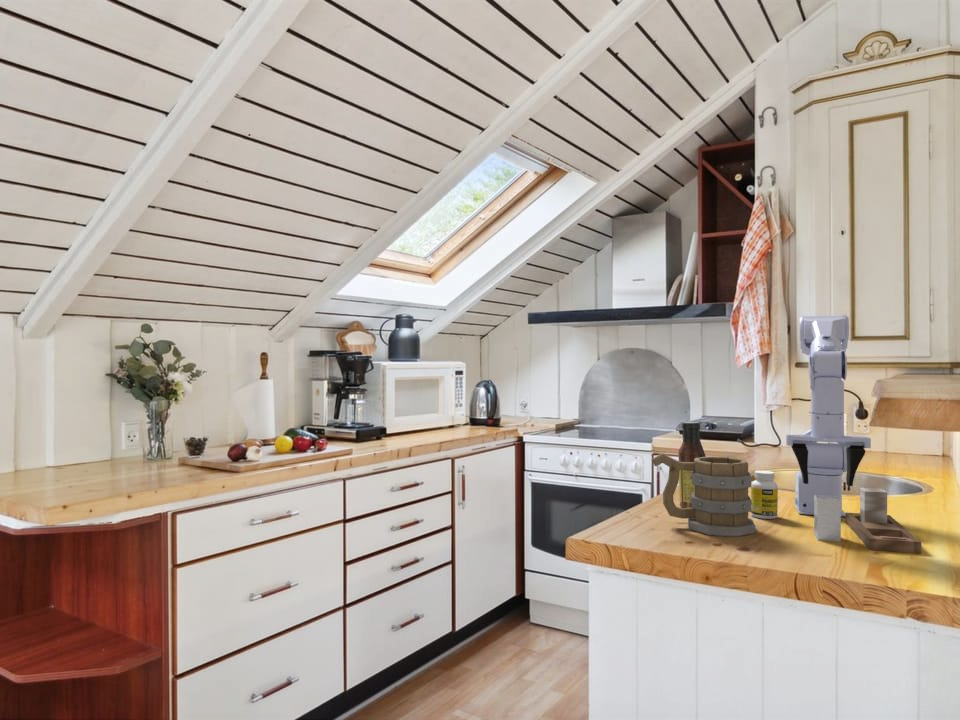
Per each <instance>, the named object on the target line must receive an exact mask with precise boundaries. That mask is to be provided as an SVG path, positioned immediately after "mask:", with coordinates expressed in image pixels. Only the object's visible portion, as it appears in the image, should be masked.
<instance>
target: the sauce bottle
mask: <svg viewBox="0 0 960 720" xmlns="http://www.w3.org/2000/svg"><path fill="white" fill-rule="evenodd" d="M681 428H682V437H683V438H682V443H681V445H680V447H679V449H678V461H680V462H694V459H695V458H699V457H707V456H706V453H705V451H704V447H703V444H702V442H701V436H700V435H701V433H700V432H701V431H700V430H701V423H700V422H699V421H683V422H681ZM691 475H692V471H687V470H680V472H679V481H678V499H679V500H678V501H679V508H691V507H692V502H691V501H690V499H691V498H692V493H693V492H694V485H693V484H692V479H691V478H690V476H691Z"/></svg>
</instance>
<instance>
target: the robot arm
mask: <svg viewBox="0 0 960 720" xmlns="http://www.w3.org/2000/svg"><path fill="white" fill-rule="evenodd" d="M849 318H850V317H849V316H848V315H847V314H841V315H840V314H839V315H836V314H835V315H801V316H800V317H799V341H800V350H801V353H802V354H804V355H806V356H808V377H809V378H808V379H809V386H810V388H809V389H810V429H809V430H807V431H805V432H804V433H803V434H785V445H786V446H789V447H791V449H792V452H793V453H794V455H795V458H796V461H797V463H798V467H799V468H800V471H797V472H795V480H794V482H795V483H794V484H795V486H794V488H795V492H794V494H795V495H794V496H795V497H794V504H795V505H794V508H795V509H796V511H797V512H798V514H799V515H811V516H812V515H813V516H814V494H818V495H837V496H838V497H839V498H840V499H841V517H845V518H846V513H847V512H845V511H844V510H843V503H842V501H843V491H842V490H843V484H842V483H843V480H842V479H843V473H846V479H845V481H846V482H845V483H846V485H847V486H849V487H853V486H854V485H853V484H854V481H855V476H856V473H857V470H858V468H859V466H860V464H861V461H862V460H863V458H864V457H865V455H866V449H871V447H872V445H871V443H872V439H871V437H869V436H854V435H845V382H844V381H846V380H847V376H848V358H847V354H846V352H847V349H848V343H849V339H850V319H849ZM842 379H843V380H842Z"/></svg>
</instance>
